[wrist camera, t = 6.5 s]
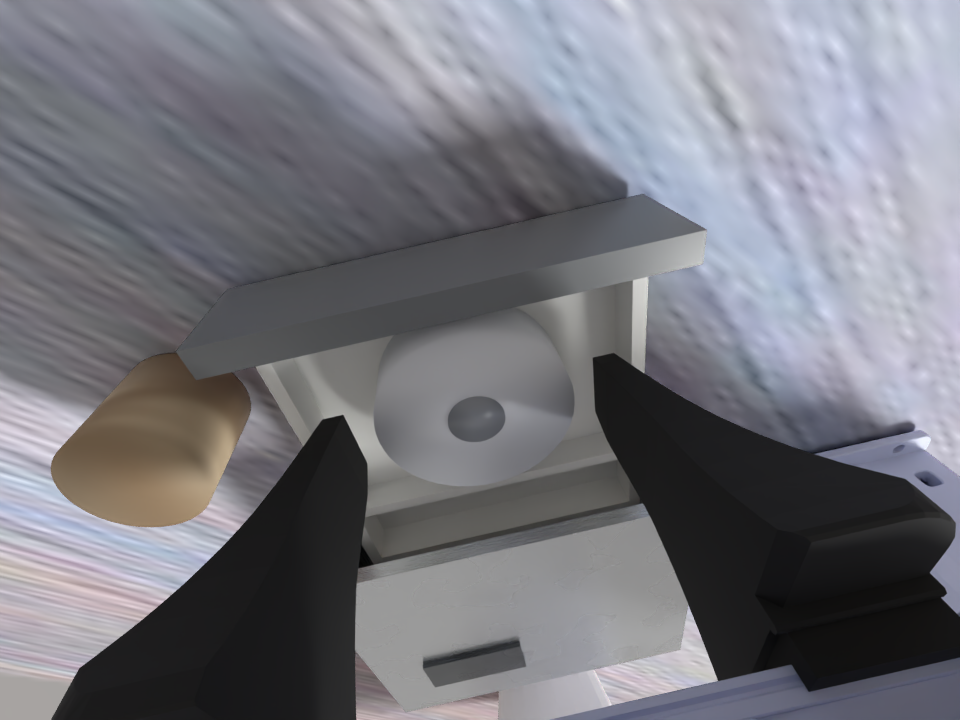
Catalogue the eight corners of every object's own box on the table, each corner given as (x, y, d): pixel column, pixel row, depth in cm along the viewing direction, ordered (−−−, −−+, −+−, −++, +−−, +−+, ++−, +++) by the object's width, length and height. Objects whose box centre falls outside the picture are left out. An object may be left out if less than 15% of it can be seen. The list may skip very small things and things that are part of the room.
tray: (643, 194, 12) (707, 230, 9) (636, 457, 18) (673, 523, 16) (227, 289, 12) (175, 351, 9) (359, 520, 18) (351, 597, 16)
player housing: (648, 416, 17) (710, 508, 14) (641, 564, 24) (682, 654, 20) (329, 489, 17) (307, 600, 14) (406, 617, 24) (405, 717, 20)
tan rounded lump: (215, 341, 13) (161, 418, 10) (269, 426, 15) (236, 510, 12) (100, 368, 13) (13, 452, 10) (169, 449, 15) (113, 538, 12)
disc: (565, 422, 15) (583, 463, 14) (409, 460, 15) (409, 506, 14) (545, 277, 12) (565, 309, 10) (349, 326, 12) (339, 365, 11)
